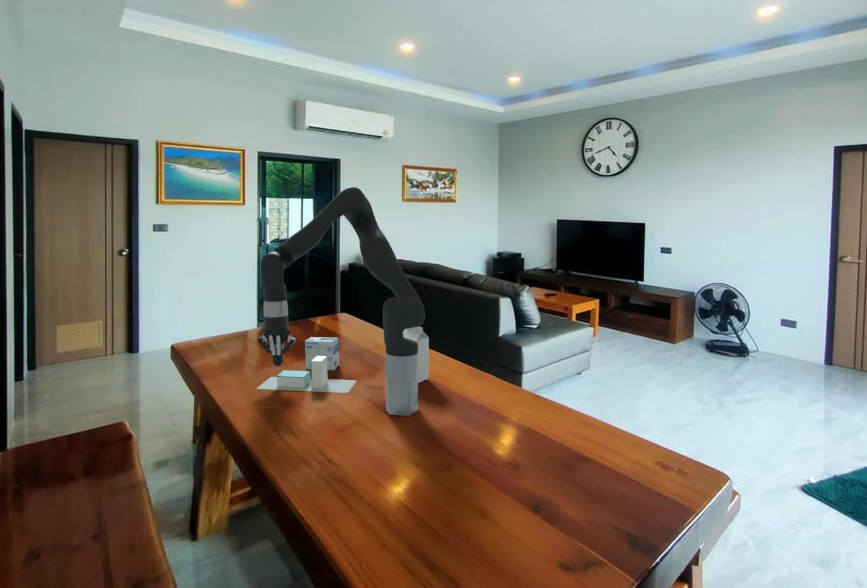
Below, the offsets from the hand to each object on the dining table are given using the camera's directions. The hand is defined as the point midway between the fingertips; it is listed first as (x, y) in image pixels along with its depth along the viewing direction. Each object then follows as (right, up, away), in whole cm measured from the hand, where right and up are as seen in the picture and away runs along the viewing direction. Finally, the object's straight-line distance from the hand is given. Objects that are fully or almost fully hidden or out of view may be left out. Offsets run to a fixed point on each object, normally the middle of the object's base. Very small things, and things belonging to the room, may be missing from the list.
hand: (278, 365), depth 169 cm
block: (+14, -6, 0) cm, 15 cm away
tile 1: (+1, -4, +1) cm, 4 cm away
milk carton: (+44, -6, +6) cm, 45 cm away
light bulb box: (+11, -4, +19) cm, 22 cm away
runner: (+10, -6, 0) cm, 12 cm away
